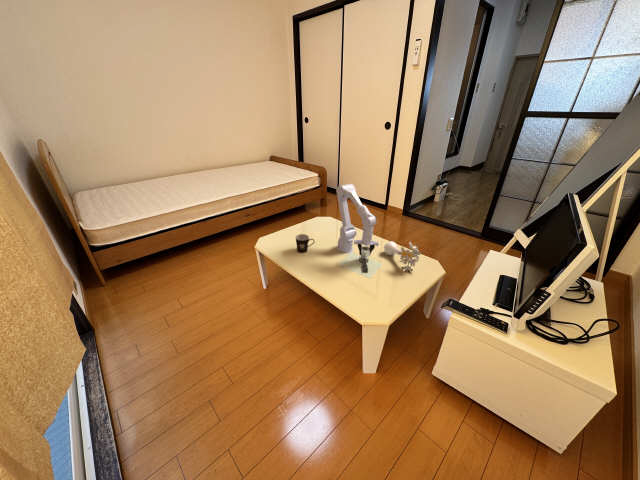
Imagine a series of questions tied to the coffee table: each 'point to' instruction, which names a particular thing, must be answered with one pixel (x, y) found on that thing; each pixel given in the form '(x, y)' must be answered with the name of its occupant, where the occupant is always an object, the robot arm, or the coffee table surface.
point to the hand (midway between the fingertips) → (364, 254)
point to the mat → (359, 265)
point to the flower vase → (403, 253)
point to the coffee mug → (302, 243)
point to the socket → (365, 252)
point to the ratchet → (364, 264)
